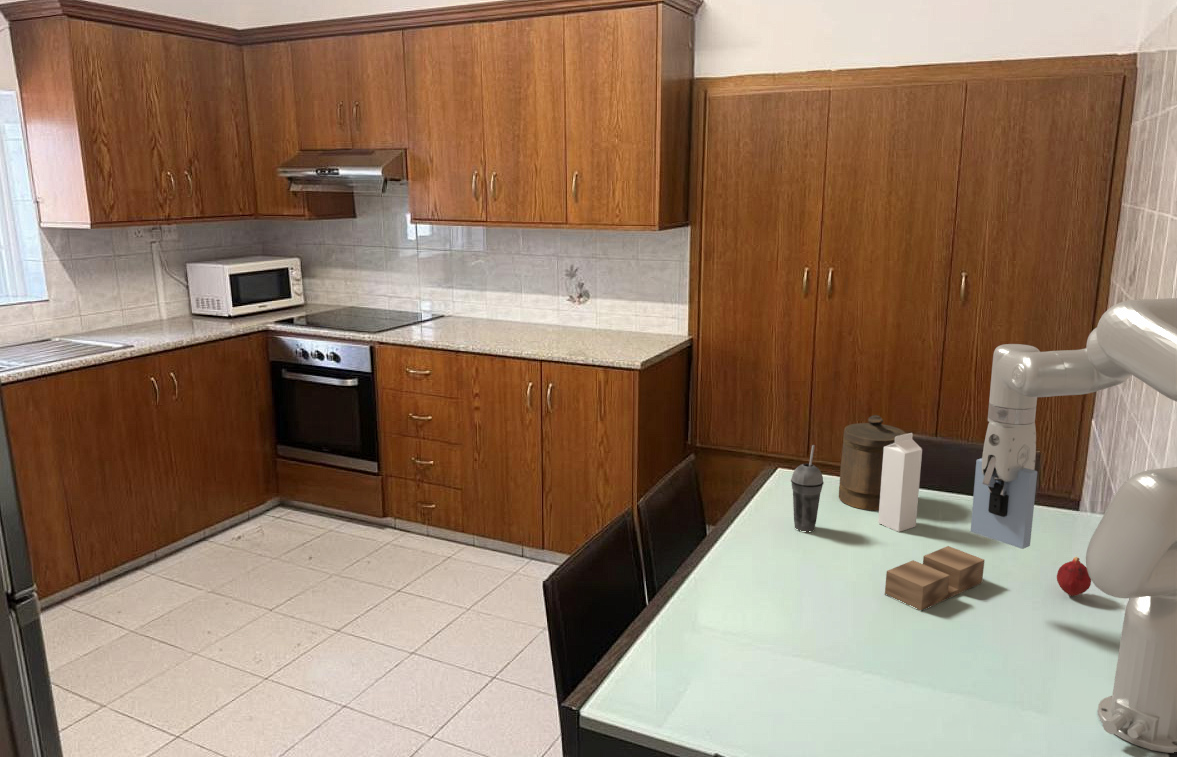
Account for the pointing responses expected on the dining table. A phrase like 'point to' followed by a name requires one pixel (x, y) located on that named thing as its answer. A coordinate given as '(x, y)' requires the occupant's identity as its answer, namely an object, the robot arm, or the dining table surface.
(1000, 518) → the grey block
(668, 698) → the dining table surface
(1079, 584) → the red pomegranate
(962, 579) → the slotted base
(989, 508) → the robot arm
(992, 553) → the dining table surface
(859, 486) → the wooden container
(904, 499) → the milk
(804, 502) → the beverage cup
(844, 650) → the dining table surface
